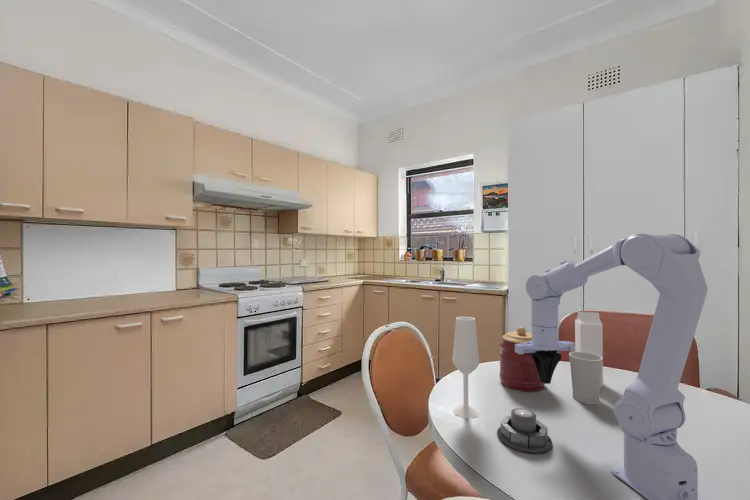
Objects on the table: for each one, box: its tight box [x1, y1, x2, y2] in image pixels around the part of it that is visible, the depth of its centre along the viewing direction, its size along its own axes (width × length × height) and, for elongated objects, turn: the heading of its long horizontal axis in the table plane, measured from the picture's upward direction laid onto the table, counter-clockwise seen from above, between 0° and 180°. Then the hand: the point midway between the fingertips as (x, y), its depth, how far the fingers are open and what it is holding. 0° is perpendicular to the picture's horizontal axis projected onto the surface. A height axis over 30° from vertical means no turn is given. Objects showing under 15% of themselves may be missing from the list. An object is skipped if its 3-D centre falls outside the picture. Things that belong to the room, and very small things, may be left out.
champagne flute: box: [451, 316, 480, 419], centre depth 86 cm, size 7×7×24 cm
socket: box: [496, 415, 553, 455], centre depth 74 cm, size 11×11×3 cm
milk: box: [574, 311, 604, 388], centre depth 105 cm, size 6×6×22 cm
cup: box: [568, 351, 604, 405], centre depth 93 cm, size 8×8×12 cm
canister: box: [498, 326, 546, 392], centre depth 104 cm, size 13×13×18 cm
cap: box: [510, 407, 537, 434], centre depth 74 cm, size 5×5×5 cm
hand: (545, 382), depth 80 cm, fingers closed
